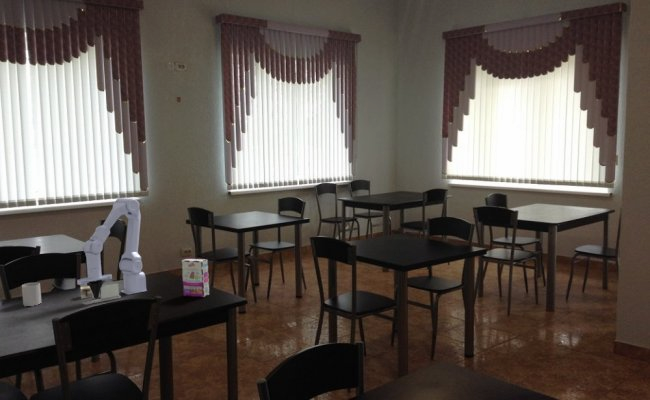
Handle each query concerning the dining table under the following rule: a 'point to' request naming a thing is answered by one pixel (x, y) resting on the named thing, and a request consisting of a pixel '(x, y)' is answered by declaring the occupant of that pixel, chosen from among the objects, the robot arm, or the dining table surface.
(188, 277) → the candy bar box
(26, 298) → the cup
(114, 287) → the grey flat block
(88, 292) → the letter block
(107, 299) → the rail
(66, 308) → the dining table surface
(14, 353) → the dining table surface
